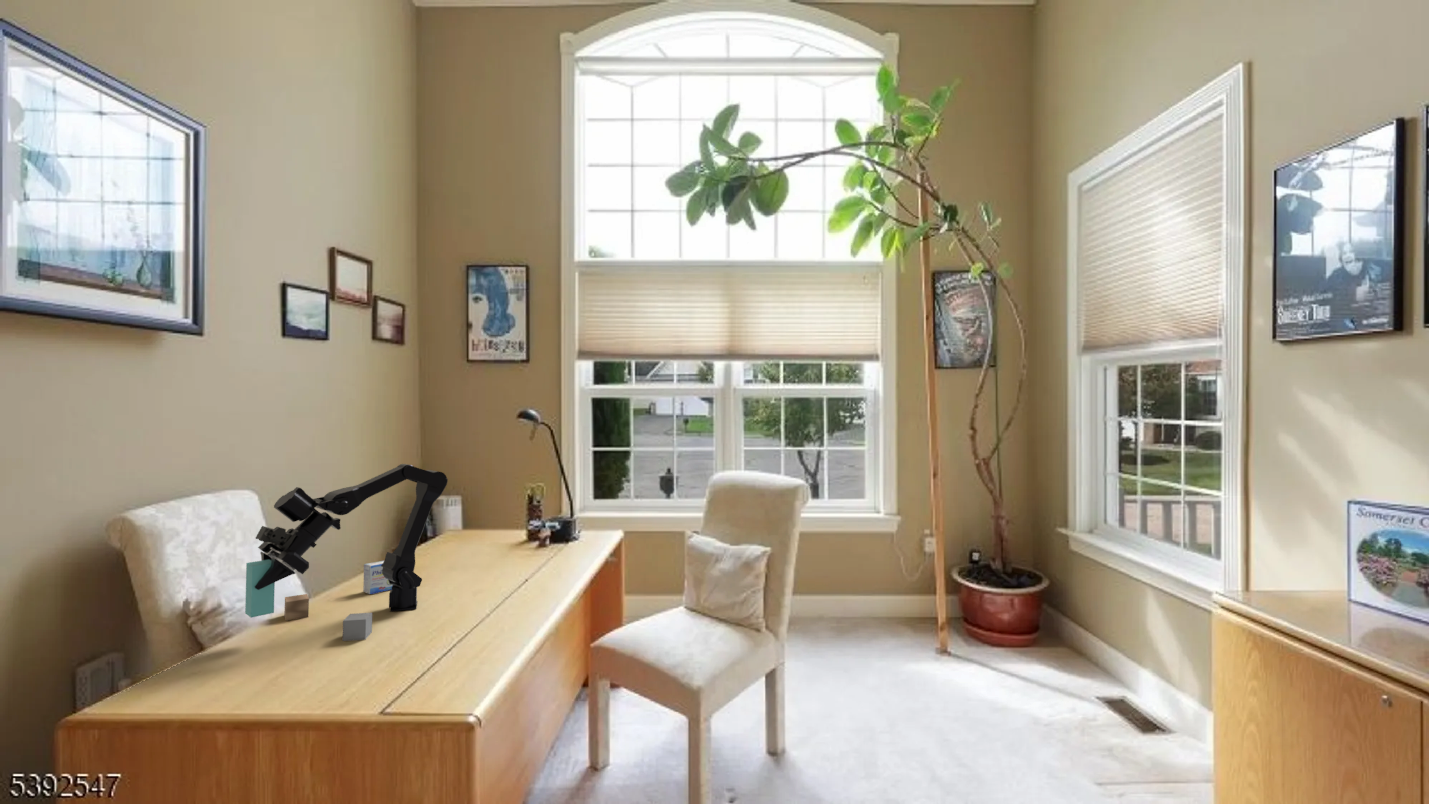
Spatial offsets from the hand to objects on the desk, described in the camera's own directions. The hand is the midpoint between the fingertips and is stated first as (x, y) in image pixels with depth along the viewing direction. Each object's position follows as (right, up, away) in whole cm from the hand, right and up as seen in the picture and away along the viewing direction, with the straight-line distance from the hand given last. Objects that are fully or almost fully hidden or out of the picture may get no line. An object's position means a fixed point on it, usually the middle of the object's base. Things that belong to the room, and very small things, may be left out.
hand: (253, 586), depth 144 cm
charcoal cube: (+22, -14, +6) cm, 26 cm away
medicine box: (+7, -14, +43) cm, 45 cm away
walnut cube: (-3, -14, +19) cm, 24 cm away
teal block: (+1, -7, +1) cm, 7 cm away
